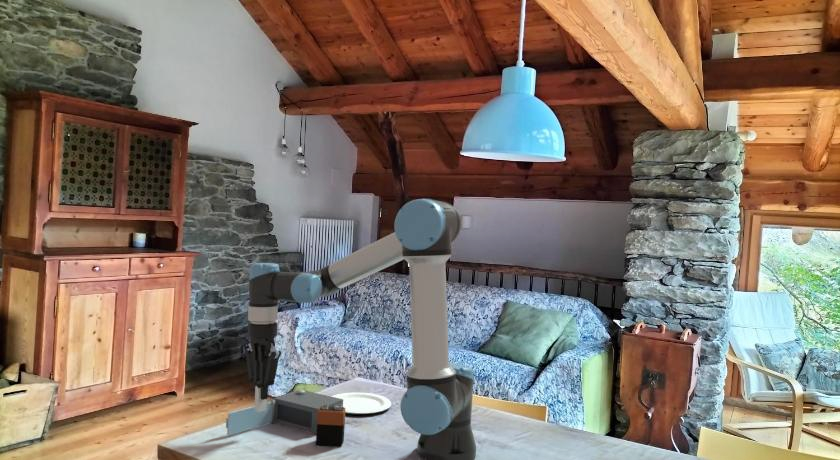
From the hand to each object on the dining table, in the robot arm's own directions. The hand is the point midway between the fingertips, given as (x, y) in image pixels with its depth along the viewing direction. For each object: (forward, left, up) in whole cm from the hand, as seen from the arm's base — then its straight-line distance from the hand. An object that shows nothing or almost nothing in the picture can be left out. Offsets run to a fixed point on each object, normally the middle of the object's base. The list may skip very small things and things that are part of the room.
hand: (260, 410), depth 157 cm
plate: (-7, -37, -8) cm, 38 cm away
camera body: (-5, -15, -7) cm, 18 cm away
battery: (-18, -7, -7) cm, 20 cm away
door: (+5, -2, -7) cm, 9 cm away
